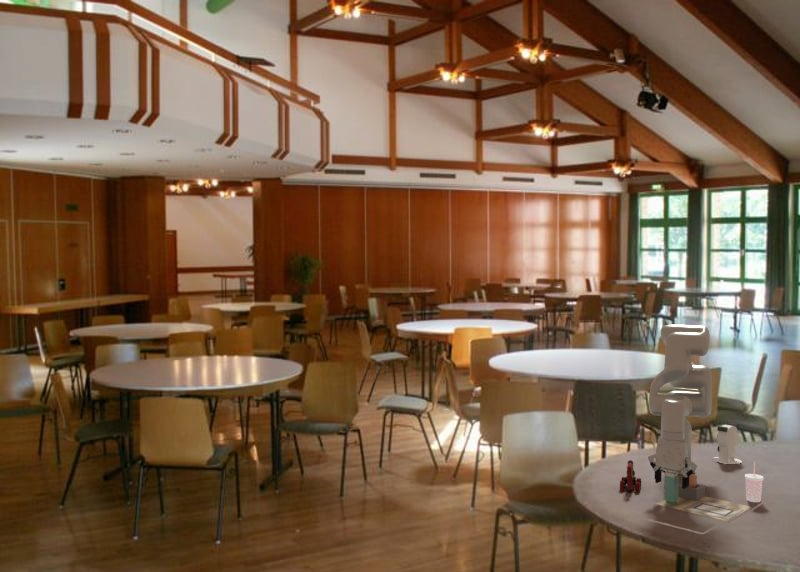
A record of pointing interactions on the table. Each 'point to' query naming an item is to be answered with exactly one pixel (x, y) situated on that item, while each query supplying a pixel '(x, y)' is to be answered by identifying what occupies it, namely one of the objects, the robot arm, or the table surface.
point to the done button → (693, 481)
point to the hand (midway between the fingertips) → (671, 485)
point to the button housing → (692, 492)
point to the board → (708, 507)
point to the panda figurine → (727, 442)
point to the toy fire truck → (630, 480)
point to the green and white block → (671, 487)
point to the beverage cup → (753, 486)
